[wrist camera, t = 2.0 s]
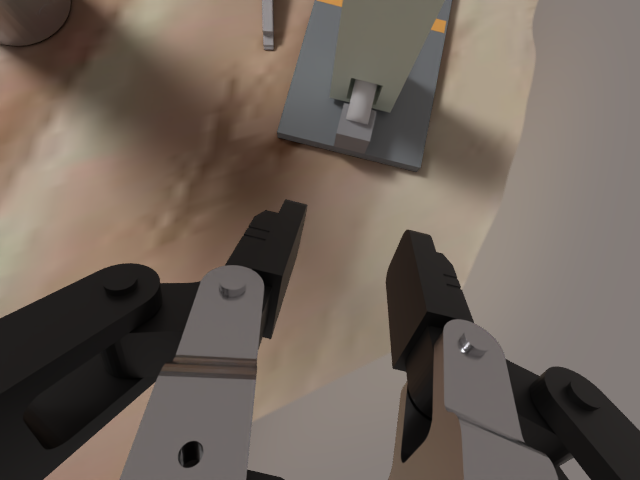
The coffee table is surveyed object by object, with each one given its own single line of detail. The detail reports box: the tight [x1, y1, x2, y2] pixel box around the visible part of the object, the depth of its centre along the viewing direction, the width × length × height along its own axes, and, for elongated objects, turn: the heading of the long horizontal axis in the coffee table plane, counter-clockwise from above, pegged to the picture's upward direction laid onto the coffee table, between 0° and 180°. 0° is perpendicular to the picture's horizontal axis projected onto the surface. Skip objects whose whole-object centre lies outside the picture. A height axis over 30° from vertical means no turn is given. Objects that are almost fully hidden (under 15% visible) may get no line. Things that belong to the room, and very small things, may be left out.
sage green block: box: [330, 0, 445, 113], centre depth 24 cm, size 6×5×12 cm
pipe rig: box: [277, 0, 452, 172], centre depth 30 cm, size 14×24×4 cm, turn 167°
